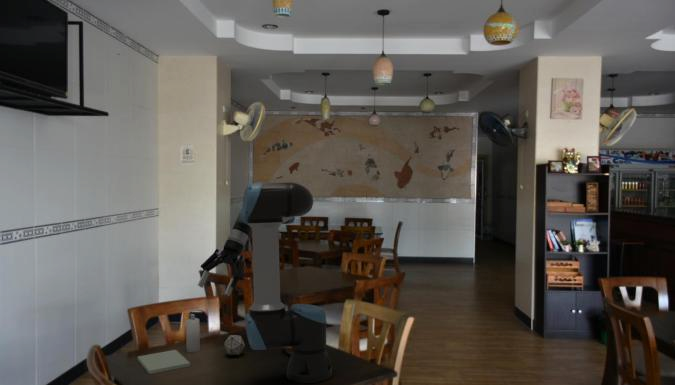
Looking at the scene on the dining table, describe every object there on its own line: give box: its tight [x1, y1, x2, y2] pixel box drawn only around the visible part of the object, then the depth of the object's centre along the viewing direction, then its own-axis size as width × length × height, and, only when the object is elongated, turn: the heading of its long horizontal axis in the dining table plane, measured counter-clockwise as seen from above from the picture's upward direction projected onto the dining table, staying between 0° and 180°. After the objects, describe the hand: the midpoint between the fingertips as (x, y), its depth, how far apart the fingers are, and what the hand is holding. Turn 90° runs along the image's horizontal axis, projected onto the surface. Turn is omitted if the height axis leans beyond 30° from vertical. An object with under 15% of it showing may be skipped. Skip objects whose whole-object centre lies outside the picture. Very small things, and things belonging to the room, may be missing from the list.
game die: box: [221, 333, 248, 358], centre depth 196 cm, size 9×8×10 cm
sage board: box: [137, 349, 191, 375], centre depth 189 cm, size 18×14×1 cm
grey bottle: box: [185, 313, 201, 353], centre depth 203 cm, size 5×5×14 cm
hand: (213, 290), depth 206 cm, fingers open, 13 cm apart
